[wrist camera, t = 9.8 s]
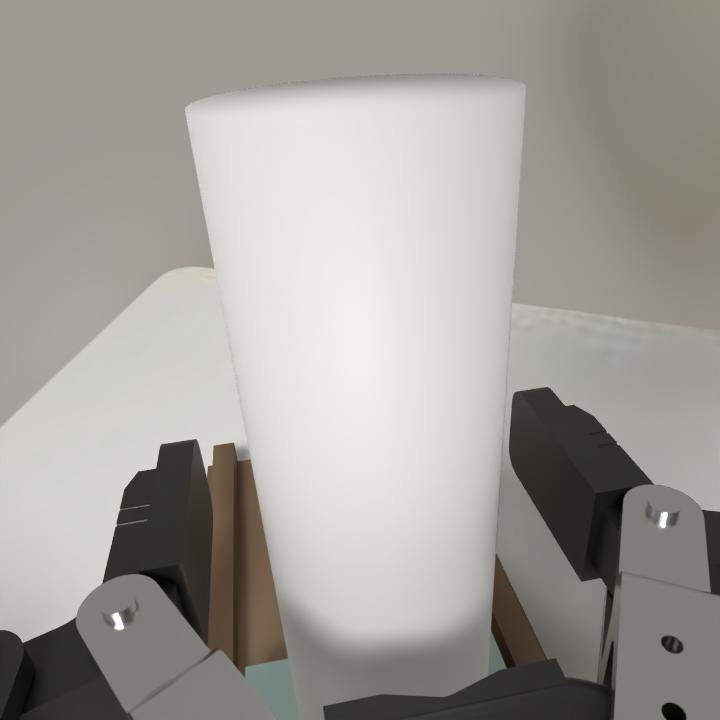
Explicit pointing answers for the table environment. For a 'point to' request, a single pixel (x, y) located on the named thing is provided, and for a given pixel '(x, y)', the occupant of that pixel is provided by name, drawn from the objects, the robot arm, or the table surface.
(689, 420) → the table surface
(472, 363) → the keeper
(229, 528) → the rail board
